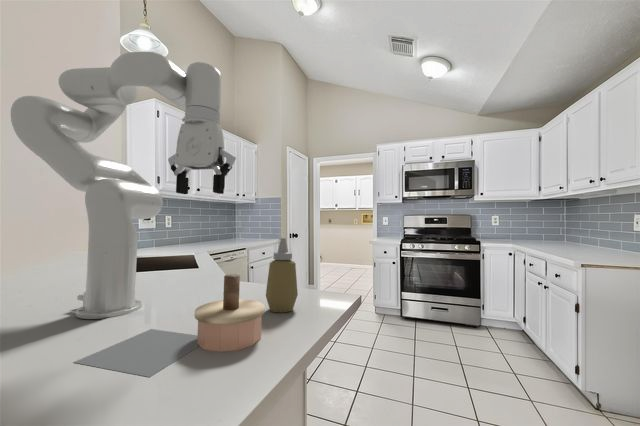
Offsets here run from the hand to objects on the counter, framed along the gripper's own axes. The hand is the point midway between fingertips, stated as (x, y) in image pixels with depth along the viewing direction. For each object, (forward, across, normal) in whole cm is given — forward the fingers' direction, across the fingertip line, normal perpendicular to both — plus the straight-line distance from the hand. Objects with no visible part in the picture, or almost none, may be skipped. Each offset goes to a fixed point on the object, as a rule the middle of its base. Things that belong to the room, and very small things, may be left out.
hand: (199, 193), depth 65 cm
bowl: (+28, +14, -8) cm, 33 cm away
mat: (+28, +4, -16) cm, 33 cm away
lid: (+23, +14, -8) cm, 28 cm away
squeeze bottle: (+28, +16, +12) cm, 35 cm away
